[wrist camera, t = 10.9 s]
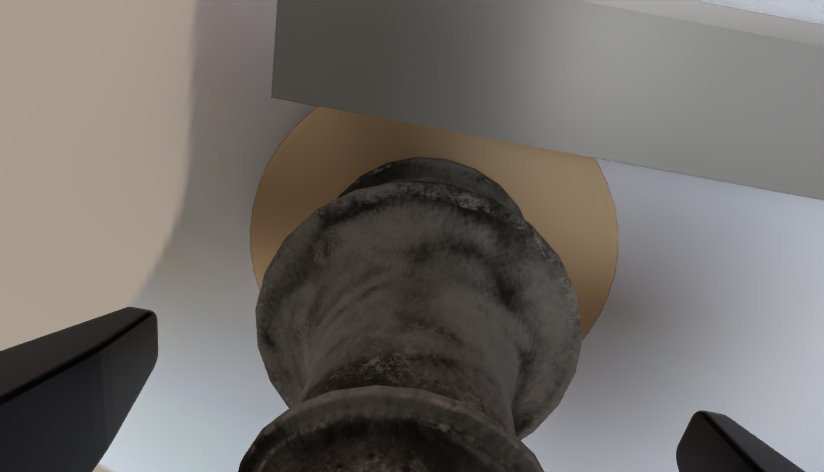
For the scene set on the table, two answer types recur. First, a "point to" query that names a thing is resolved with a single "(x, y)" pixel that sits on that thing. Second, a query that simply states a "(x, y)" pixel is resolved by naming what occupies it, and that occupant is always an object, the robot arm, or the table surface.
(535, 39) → the breaker guard
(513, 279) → the salt shaker
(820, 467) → the table surface
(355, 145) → the coaster
